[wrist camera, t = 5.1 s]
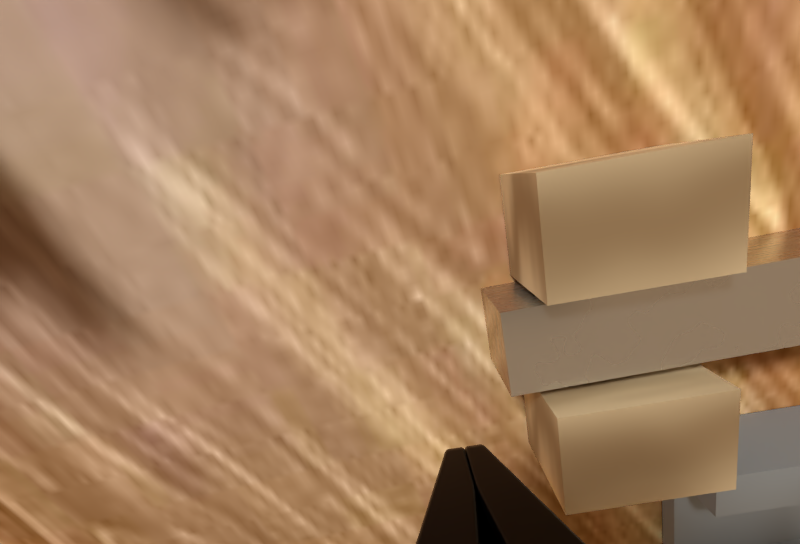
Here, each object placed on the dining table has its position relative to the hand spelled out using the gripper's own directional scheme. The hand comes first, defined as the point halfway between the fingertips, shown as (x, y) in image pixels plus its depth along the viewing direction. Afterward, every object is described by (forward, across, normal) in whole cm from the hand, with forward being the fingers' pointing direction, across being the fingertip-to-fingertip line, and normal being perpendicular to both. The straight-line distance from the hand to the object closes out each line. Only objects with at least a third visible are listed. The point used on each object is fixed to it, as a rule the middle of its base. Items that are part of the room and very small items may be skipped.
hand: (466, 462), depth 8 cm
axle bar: (+8, -9, 0) cm, 12 cm away
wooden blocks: (+8, -6, 0) cm, 10 cm away
